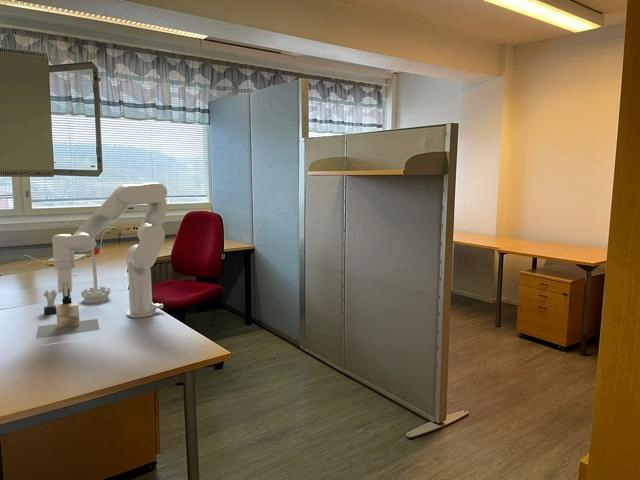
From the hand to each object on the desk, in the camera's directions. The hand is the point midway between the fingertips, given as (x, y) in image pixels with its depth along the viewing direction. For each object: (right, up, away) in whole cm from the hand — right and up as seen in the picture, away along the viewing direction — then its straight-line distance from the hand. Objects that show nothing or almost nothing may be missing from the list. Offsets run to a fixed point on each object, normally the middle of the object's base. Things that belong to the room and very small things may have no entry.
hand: (67, 307), depth 194 cm
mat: (+3, -8, -4) cm, 9 cm away
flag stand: (-7, -2, +41) cm, 41 cm away
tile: (+1, -7, 0) cm, 7 cm away
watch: (-17, -5, +18) cm, 25 cm away
